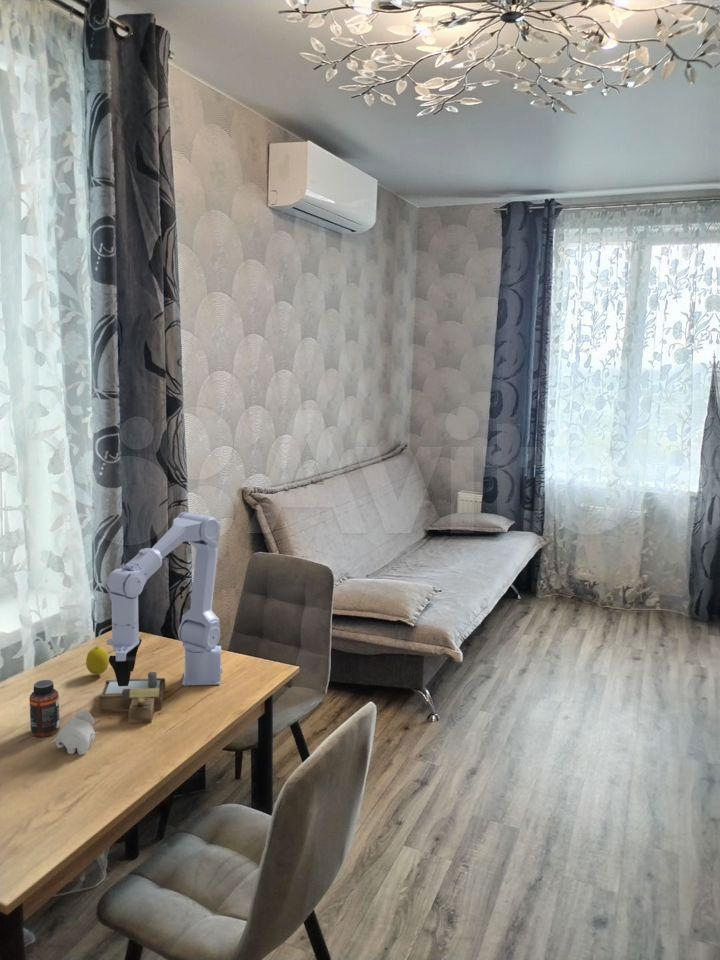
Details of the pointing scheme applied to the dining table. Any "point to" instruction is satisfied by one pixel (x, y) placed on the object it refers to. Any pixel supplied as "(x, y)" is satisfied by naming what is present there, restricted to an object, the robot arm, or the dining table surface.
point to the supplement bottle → (44, 709)
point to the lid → (134, 685)
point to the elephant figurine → (77, 733)
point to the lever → (140, 694)
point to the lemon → (97, 660)
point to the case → (132, 703)
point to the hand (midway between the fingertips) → (126, 678)
